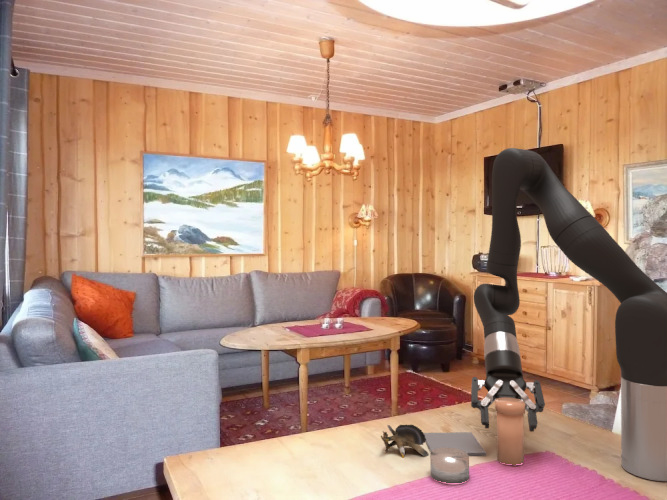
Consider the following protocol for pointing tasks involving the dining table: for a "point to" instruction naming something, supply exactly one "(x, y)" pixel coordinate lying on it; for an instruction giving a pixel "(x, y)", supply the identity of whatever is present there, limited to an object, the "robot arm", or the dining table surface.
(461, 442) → the slate coaster
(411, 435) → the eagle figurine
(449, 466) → the metal tin
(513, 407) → the peach dome-topped cylinder
